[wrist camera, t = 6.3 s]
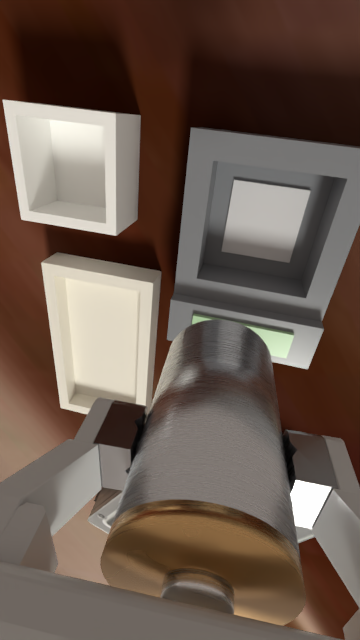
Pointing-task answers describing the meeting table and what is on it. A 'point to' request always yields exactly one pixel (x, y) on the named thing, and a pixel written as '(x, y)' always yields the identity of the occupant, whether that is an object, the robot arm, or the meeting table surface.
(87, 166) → the small white open box
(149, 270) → the trough
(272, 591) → the cell
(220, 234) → the checker cradle
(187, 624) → the robot arm
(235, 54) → the meeting table surface
